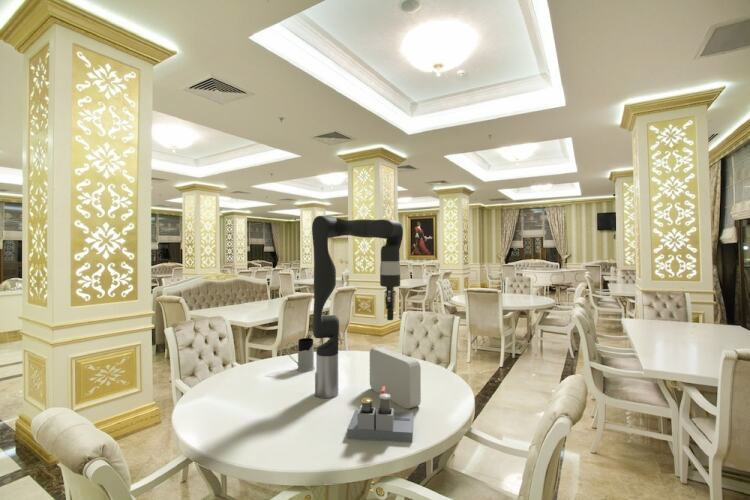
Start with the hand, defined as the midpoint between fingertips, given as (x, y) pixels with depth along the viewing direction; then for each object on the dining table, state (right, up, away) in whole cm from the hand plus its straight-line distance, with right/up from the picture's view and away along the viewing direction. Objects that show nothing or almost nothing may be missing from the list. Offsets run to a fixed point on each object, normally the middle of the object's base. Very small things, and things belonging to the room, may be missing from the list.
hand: (390, 319), depth 141 cm
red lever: (-3, -32, -11) cm, 34 cm away
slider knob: (-10, -32, -6) cm, 34 cm away
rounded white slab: (+2, -35, +16) cm, 39 cm away
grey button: (-2, -27, -17) cm, 32 cm away
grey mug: (-44, -35, +53) cm, 78 cm away
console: (-3, -35, -12) cm, 37 cm away
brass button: (-8, -29, -16) cm, 34 cm away
